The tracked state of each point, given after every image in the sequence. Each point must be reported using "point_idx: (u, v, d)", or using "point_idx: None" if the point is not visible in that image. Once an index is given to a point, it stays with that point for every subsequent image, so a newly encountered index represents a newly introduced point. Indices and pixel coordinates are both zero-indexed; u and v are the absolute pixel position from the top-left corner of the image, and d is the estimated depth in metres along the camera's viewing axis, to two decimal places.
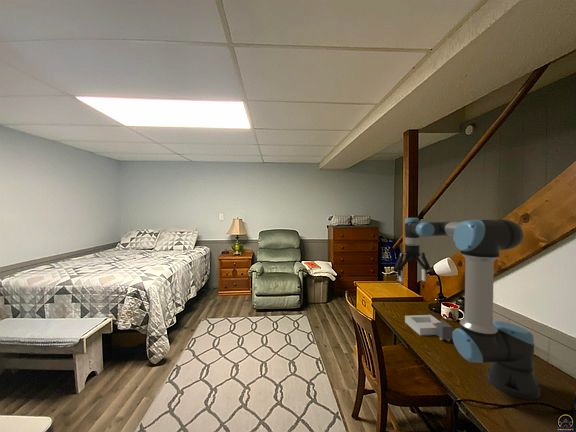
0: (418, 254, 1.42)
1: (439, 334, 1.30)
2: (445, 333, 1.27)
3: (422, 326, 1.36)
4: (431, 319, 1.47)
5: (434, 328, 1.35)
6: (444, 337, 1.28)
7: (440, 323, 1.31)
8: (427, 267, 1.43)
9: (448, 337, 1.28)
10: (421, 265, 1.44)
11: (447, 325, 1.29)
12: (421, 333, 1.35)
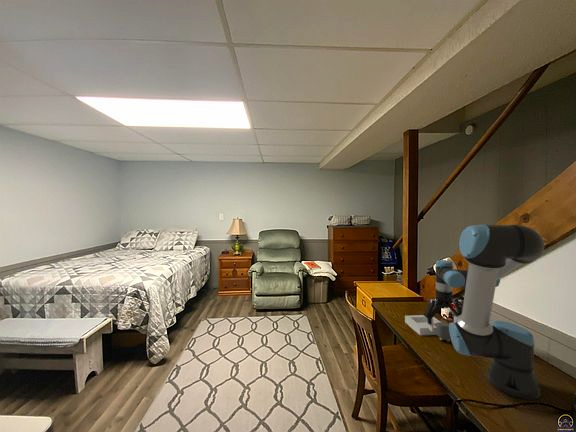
0: (451, 301, 1.29)
1: (439, 334, 1.30)
2: (445, 333, 1.27)
3: (422, 326, 1.36)
4: None
5: (434, 328, 1.35)
6: (444, 337, 1.28)
7: (440, 323, 1.31)
8: (460, 315, 1.30)
9: (448, 337, 1.28)
10: (454, 312, 1.30)
11: (447, 325, 1.29)
12: (421, 333, 1.35)
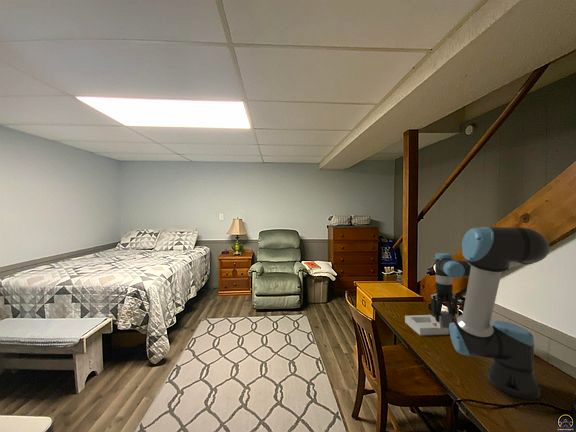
0: (451, 294, 1.28)
1: None
2: (445, 321, 1.27)
3: (422, 326, 1.36)
4: (431, 319, 1.47)
5: (434, 328, 1.35)
6: (444, 325, 1.27)
7: None
8: (454, 312, 1.29)
9: (448, 325, 1.27)
10: (449, 308, 1.29)
11: (447, 313, 1.28)
12: (421, 333, 1.35)
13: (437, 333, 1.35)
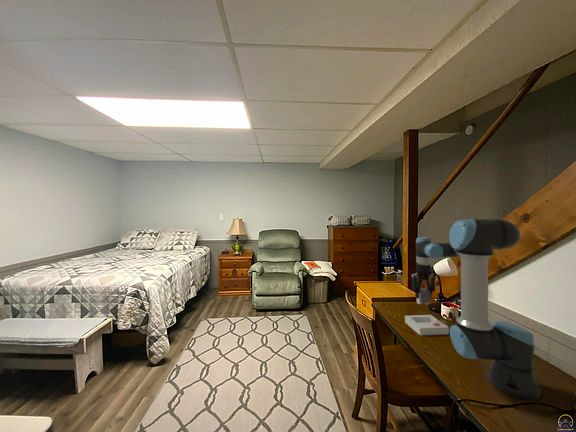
0: (429, 273, 1.43)
1: None
2: (424, 297, 1.42)
3: (422, 326, 1.36)
4: (431, 319, 1.47)
5: (434, 328, 1.35)
6: (423, 301, 1.42)
7: (420, 289, 1.46)
8: (432, 290, 1.44)
9: (427, 301, 1.42)
10: (427, 286, 1.44)
11: (426, 290, 1.44)
12: (421, 333, 1.35)
13: (437, 333, 1.35)
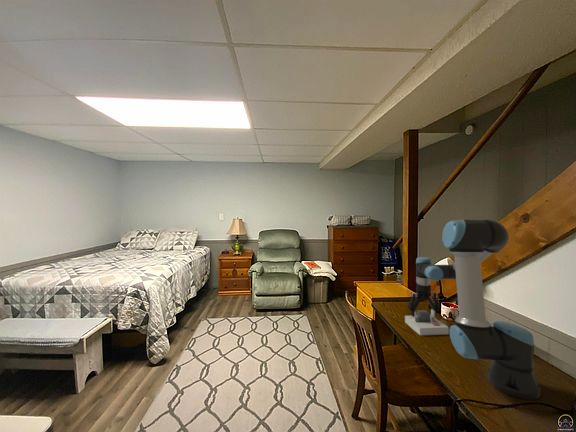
0: (429, 294, 1.44)
1: (419, 320, 1.45)
2: (424, 319, 1.42)
3: (422, 326, 1.36)
4: None
5: (434, 328, 1.35)
6: None
7: (420, 311, 1.46)
8: (436, 308, 1.44)
9: None
10: (431, 305, 1.45)
11: (426, 312, 1.44)
12: (421, 333, 1.35)
13: (437, 333, 1.35)
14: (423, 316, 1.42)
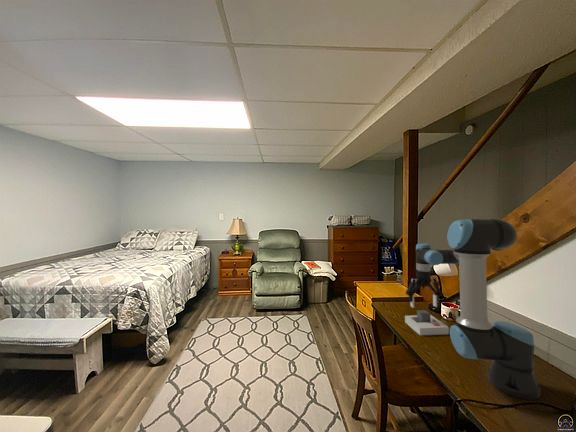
0: (429, 280, 1.43)
1: (419, 320, 1.45)
2: (424, 319, 1.42)
3: (422, 326, 1.36)
4: (431, 319, 1.47)
5: (434, 328, 1.35)
6: None
7: (420, 311, 1.46)
8: (438, 293, 1.44)
9: None
10: (432, 291, 1.44)
11: (426, 312, 1.44)
12: (421, 333, 1.35)
13: (437, 333, 1.35)
14: (423, 316, 1.42)
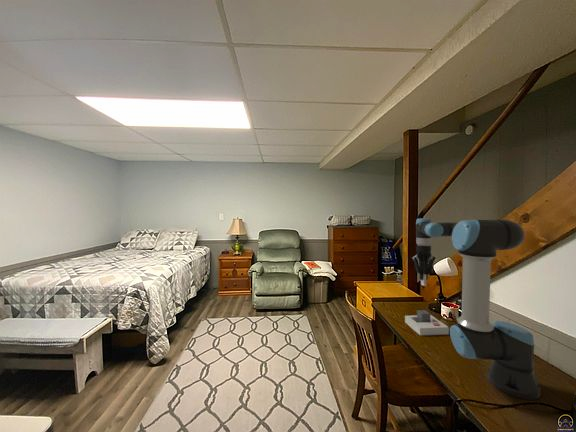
0: (430, 254, 1.43)
1: (419, 320, 1.45)
2: (424, 319, 1.42)
3: (422, 326, 1.36)
4: (431, 319, 1.47)
5: (434, 328, 1.35)
6: None
7: (420, 311, 1.46)
8: (428, 272, 1.44)
9: None
10: (425, 268, 1.44)
11: (426, 312, 1.44)
12: (421, 333, 1.35)
13: (437, 333, 1.35)
14: (423, 316, 1.42)
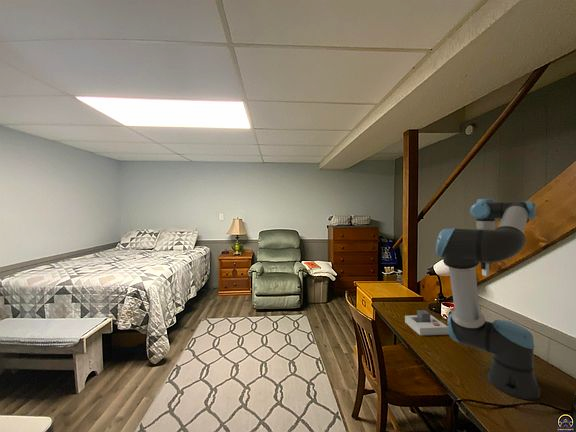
0: None
1: (419, 320, 1.45)
2: (424, 319, 1.42)
3: (422, 326, 1.36)
4: (431, 319, 1.47)
5: (434, 328, 1.35)
6: None
7: (420, 311, 1.46)
8: None
9: None
10: None
11: (426, 312, 1.44)
12: (421, 333, 1.35)
13: (437, 333, 1.35)
14: (423, 316, 1.42)
